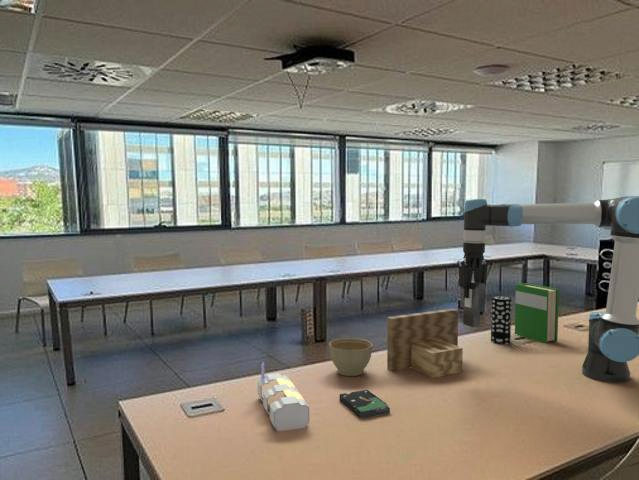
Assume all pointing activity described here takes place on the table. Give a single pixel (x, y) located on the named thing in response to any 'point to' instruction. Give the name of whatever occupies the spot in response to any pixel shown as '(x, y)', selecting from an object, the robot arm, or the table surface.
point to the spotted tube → (501, 320)
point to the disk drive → (364, 404)
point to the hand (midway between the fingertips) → (471, 306)
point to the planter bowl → (350, 355)
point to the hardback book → (536, 312)
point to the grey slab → (473, 304)
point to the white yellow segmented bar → (284, 403)
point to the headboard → (425, 343)
